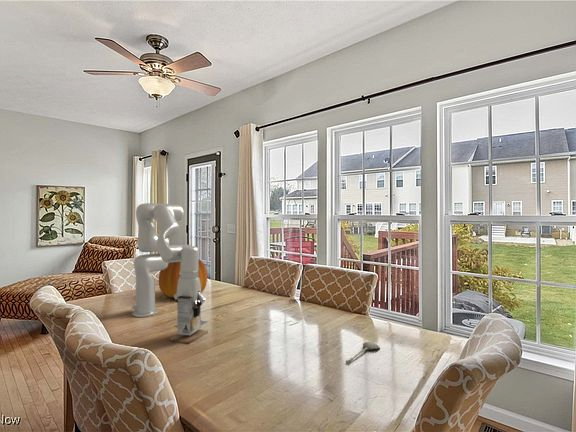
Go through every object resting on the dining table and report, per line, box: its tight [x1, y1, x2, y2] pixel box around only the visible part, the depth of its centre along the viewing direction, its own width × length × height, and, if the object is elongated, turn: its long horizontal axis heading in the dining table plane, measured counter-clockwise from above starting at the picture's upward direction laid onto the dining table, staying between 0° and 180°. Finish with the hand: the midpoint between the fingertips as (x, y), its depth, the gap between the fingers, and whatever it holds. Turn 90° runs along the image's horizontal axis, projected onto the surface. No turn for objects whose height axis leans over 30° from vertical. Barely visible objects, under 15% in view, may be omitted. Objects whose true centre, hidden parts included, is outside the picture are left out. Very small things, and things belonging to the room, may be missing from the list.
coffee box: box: [176, 296, 202, 335], centre depth 137 cm, size 9×6×16 cm
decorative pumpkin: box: [158, 258, 208, 299], centre depth 204 cm, size 30×30×30 cm
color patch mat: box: [175, 320, 208, 328], centre depth 152 cm, size 11×11×1 cm
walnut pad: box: [169, 329, 209, 345], centre depth 137 cm, size 10×13×1 cm
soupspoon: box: [345, 341, 381, 365], centre depth 121 cm, size 22×3×7 cm
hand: (189, 315), depth 137 cm, fingers closed on coffee box, 7 cm apart
